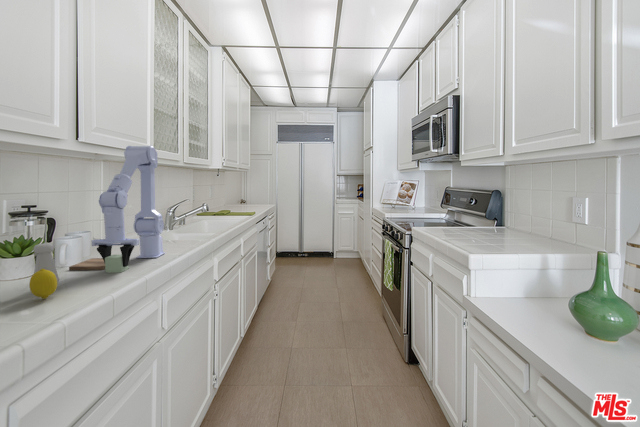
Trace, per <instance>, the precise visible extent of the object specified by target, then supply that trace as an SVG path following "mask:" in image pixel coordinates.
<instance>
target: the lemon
mask: <svg viewBox="0 0 640 427" xmlns="http://www.w3.org/2000/svg"><path fill="white" fill-rule="evenodd" d="M57 288H58V285H57V278H56V276H55V274H54V273H53V272H51V271H49V270H45V269H40V271H37V272H36V273H34V272H33V274H32V276H31V277H30V279H29V290H30V293H32V295H33V296H35V297H36V298H41V299H43V300H46V299H47V298H48V297H50V296H52V295H53V294H54V293H55V292H56V290H57Z"/></svg>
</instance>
